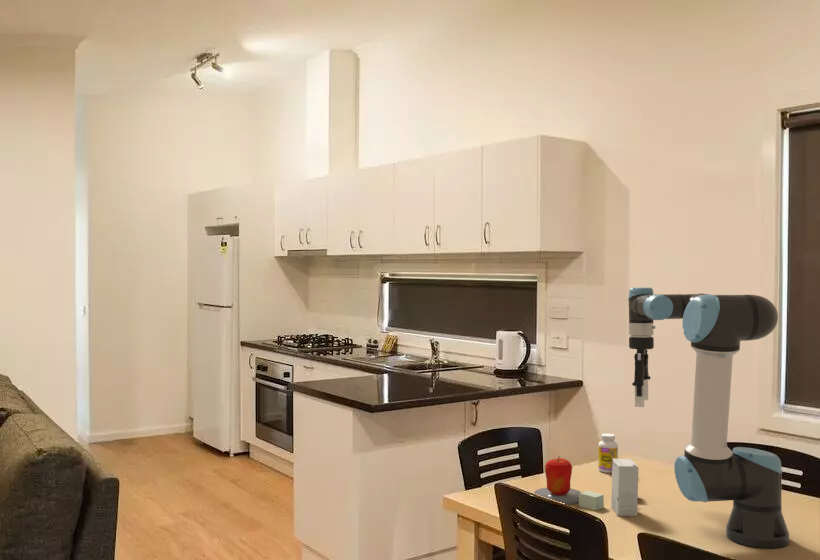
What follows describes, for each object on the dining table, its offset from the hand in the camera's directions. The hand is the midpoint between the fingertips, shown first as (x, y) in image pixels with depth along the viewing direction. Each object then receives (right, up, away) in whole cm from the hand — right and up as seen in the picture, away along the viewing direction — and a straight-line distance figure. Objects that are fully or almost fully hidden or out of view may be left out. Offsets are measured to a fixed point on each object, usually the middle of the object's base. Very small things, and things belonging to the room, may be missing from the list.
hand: (641, 403), depth 244 cm
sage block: (-19, -29, -12) cm, 37 cm away
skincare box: (-10, -29, -18) cm, 36 cm away
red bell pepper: (-27, -28, -3) cm, 39 cm away
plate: (-27, -29, -3) cm, 40 cm away
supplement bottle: (-3, -29, +29) cm, 41 cm away
